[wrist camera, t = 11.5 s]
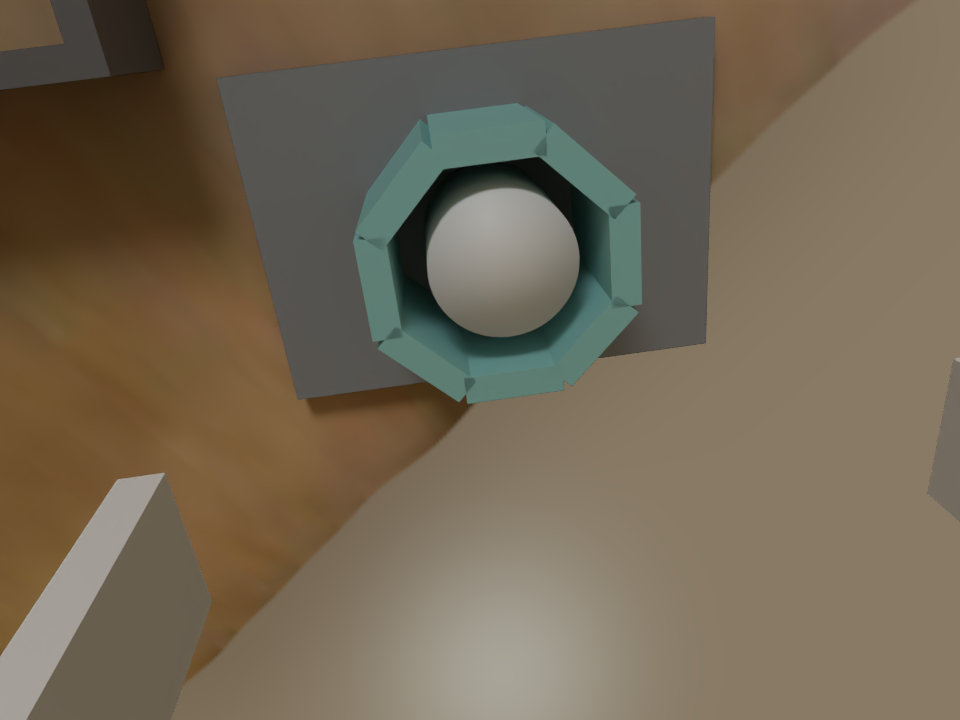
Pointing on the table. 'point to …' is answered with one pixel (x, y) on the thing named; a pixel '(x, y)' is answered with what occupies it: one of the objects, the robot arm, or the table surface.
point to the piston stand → (477, 188)
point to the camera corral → (87, 45)
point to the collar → (415, 312)
